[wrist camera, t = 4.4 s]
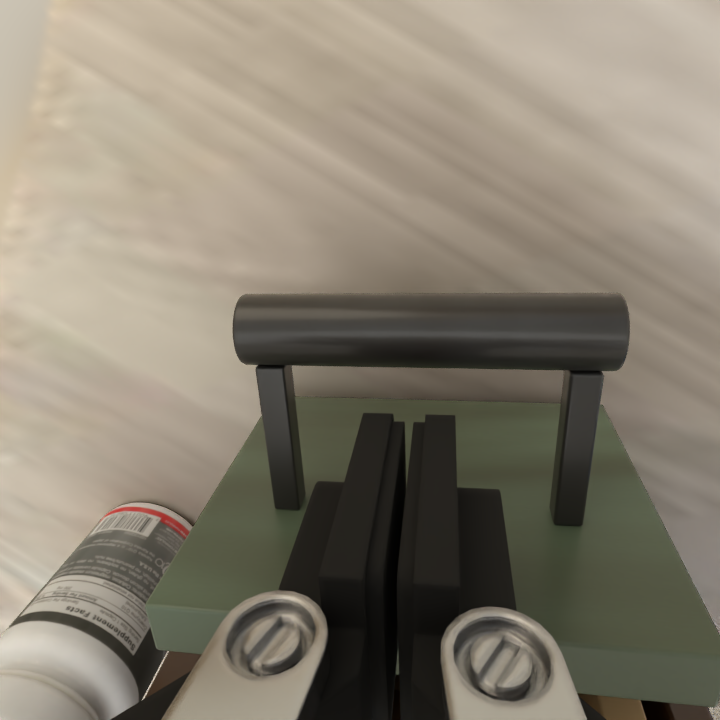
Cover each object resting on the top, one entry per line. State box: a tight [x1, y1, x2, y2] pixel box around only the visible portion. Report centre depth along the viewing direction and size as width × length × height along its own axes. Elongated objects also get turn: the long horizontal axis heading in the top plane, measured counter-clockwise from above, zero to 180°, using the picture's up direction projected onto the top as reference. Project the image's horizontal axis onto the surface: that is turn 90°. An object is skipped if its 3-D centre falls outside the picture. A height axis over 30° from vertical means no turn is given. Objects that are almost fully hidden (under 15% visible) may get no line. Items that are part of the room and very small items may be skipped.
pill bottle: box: [0, 503, 193, 720], centre depth 19 cm, size 5×5×8 cm
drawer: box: [145, 293, 720, 720], centre depth 15 cm, size 17×10×8 cm, turn 3°
